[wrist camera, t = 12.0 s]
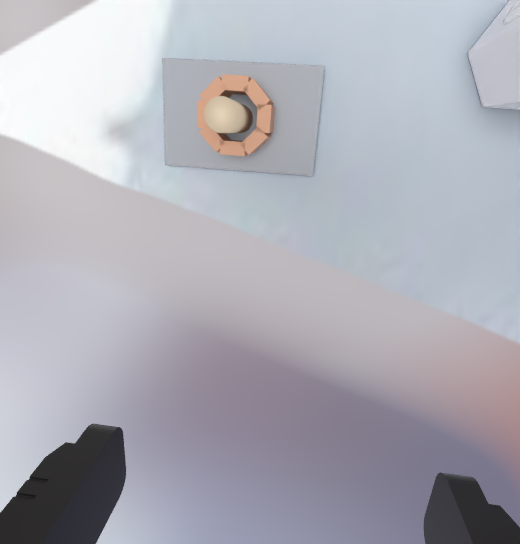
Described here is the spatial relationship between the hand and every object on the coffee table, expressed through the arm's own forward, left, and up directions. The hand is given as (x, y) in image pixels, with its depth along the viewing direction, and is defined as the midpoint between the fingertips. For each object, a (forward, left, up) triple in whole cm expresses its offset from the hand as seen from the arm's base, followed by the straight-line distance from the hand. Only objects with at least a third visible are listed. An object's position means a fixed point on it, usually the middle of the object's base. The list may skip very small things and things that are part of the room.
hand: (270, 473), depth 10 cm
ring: (+6, -9, -29) cm, 31 cm away
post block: (+6, -9, -30) cm, 32 cm away
